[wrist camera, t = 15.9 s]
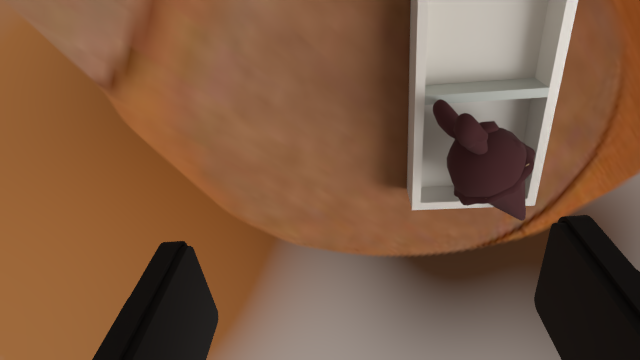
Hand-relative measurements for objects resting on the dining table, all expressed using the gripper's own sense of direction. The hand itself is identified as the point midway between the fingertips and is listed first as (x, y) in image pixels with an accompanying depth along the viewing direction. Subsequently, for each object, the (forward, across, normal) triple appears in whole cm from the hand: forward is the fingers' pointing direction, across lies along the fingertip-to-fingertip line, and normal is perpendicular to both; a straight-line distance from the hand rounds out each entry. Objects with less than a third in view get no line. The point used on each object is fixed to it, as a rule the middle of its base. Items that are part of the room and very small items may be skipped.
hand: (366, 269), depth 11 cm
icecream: (+26, -11, +11) cm, 30 cm away
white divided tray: (+29, -11, +6) cm, 31 cm away
